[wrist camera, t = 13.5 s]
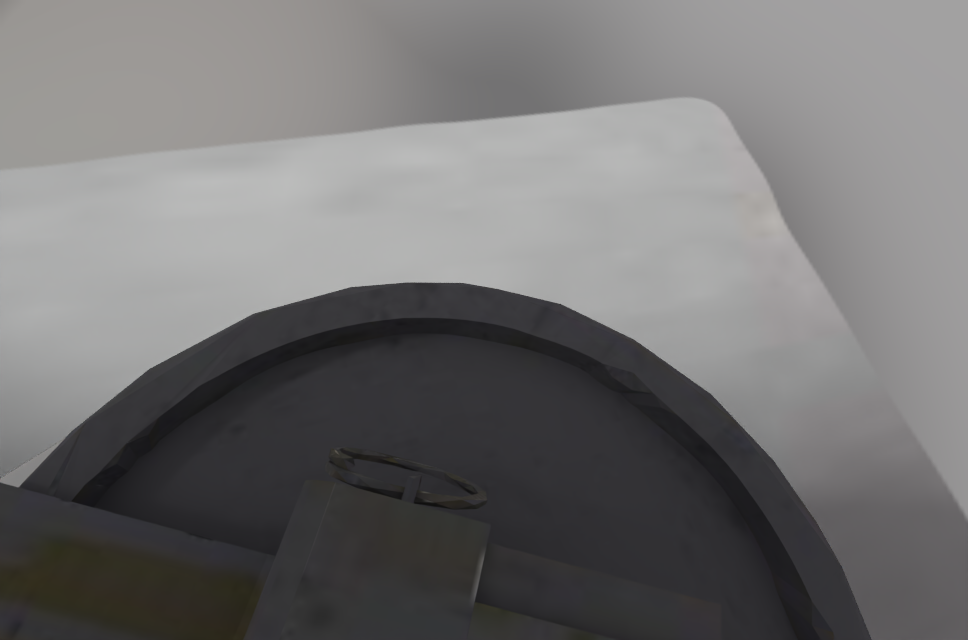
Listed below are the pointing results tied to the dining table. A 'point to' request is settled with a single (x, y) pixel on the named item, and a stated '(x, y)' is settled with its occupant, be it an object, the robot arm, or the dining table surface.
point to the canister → (415, 491)
